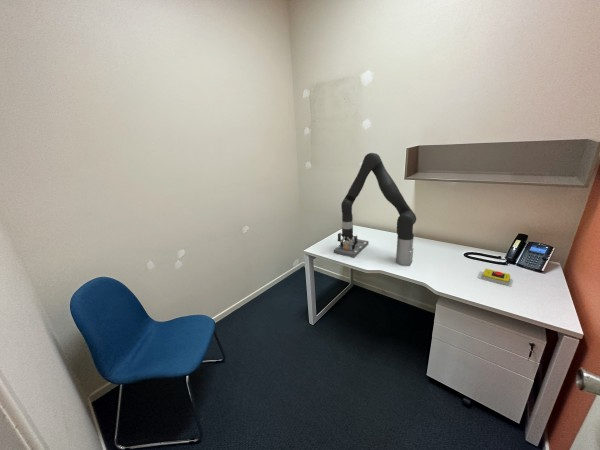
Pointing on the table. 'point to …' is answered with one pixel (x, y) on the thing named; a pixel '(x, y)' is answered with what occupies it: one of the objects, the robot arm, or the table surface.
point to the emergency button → (496, 277)
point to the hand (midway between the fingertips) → (347, 248)
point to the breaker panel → (350, 252)
